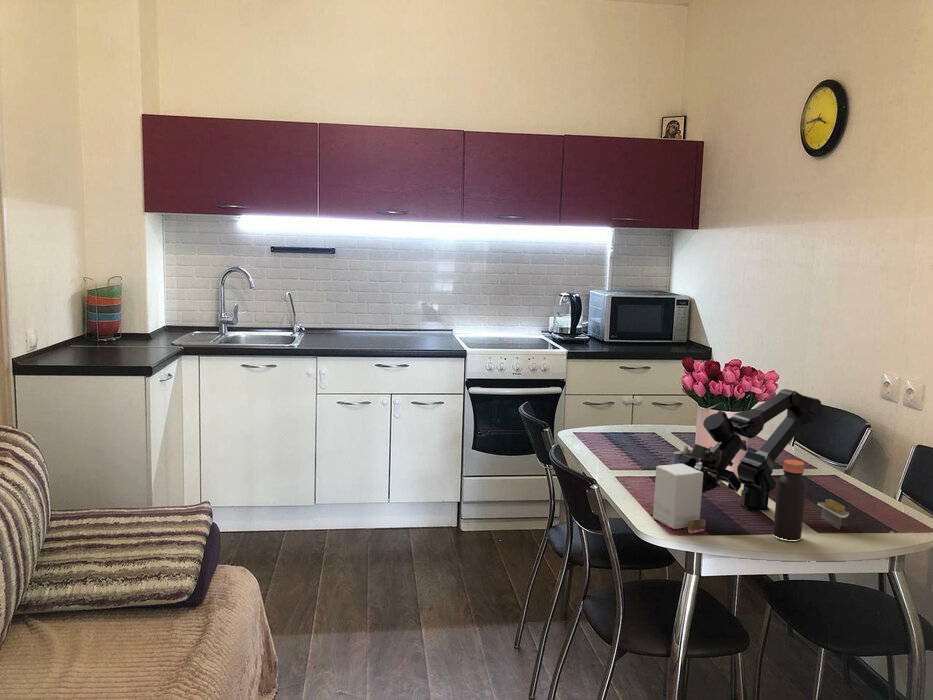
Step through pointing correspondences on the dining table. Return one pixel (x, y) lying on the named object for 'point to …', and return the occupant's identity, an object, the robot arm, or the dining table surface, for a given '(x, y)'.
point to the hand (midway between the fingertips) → (690, 496)
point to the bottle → (790, 501)
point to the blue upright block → (686, 451)
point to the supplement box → (677, 494)
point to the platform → (833, 511)
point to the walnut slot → (690, 522)
